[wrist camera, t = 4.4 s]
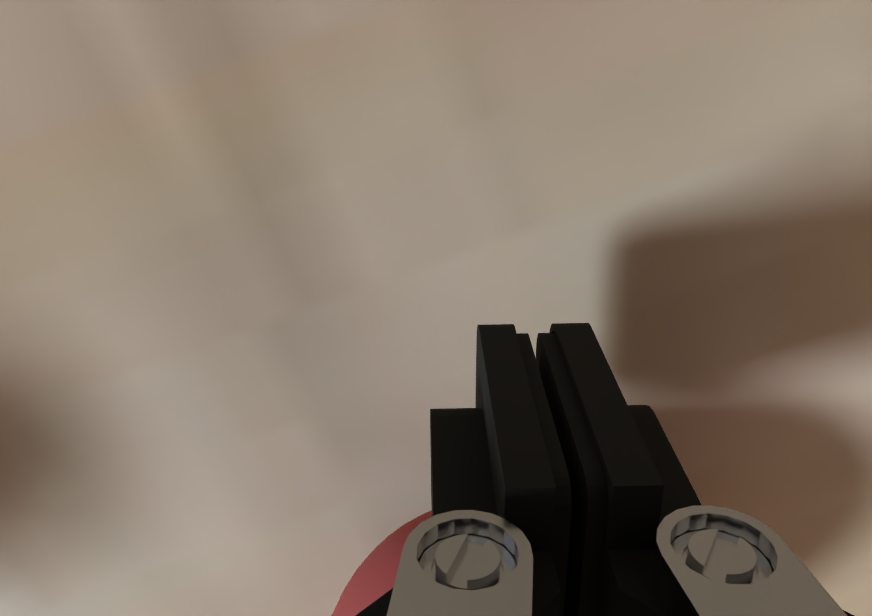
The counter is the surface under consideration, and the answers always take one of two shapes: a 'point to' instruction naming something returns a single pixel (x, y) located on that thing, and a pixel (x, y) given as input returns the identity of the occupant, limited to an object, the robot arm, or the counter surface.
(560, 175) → the counter surface
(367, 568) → the ball
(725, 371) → the counter surface
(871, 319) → the counter surface
